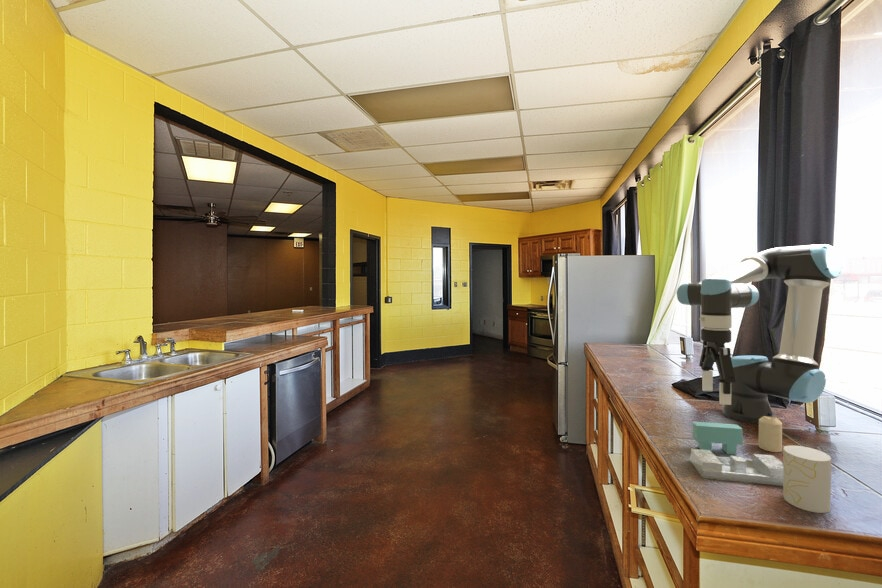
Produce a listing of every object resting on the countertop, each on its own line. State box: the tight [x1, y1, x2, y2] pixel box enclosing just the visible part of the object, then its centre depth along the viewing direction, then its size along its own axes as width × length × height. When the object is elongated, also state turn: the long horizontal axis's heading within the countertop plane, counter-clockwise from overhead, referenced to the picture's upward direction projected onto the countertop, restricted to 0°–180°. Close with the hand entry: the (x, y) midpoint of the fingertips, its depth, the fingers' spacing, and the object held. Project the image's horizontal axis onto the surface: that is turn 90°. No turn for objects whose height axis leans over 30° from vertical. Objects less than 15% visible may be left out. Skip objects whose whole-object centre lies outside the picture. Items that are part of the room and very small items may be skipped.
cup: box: [782, 445, 832, 514], centre depth 91 cm, size 8×8×12 cm
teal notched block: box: [692, 421, 744, 456], centre depth 118 cm, size 12×4×8 cm, turn 74°
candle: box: [758, 416, 783, 453], centre depth 118 cm, size 6×6×10 cm
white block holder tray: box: [689, 448, 783, 487], centre depth 105 cm, size 20×10×4 cm, turn 74°
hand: (715, 397), depth 118 cm, fingers open, 13 cm apart
